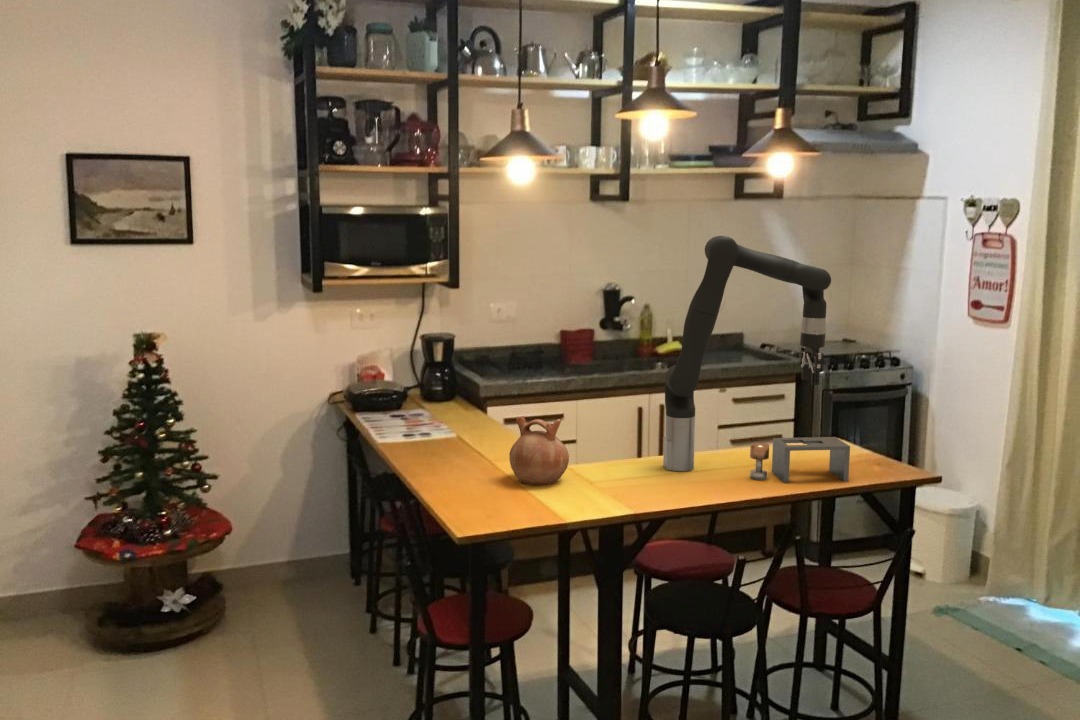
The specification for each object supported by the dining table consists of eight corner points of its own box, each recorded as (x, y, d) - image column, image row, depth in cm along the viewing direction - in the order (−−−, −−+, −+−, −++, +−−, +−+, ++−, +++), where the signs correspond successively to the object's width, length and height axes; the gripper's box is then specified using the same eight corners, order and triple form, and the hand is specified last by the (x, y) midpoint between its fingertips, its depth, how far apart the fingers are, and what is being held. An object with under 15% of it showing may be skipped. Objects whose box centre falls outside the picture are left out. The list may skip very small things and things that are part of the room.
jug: (579, 477, 298) (580, 414, 295) (550, 492, 282) (550, 426, 279) (528, 469, 307) (528, 408, 304) (497, 483, 292) (497, 419, 288)
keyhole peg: (752, 480, 294) (753, 447, 292) (747, 475, 300) (748, 442, 298) (770, 480, 295) (771, 446, 293) (764, 475, 300) (766, 442, 298)
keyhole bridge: (783, 482, 292) (785, 447, 290) (771, 472, 303) (773, 438, 302) (848, 481, 293) (850, 446, 291) (833, 470, 305) (835, 436, 303)
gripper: (793, 328, 309) (790, 378, 312) (809, 334, 295) (806, 386, 298) (816, 328, 310) (813, 378, 312) (833, 334, 296) (829, 386, 298)
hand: (809, 382), depth 305 cm, fingers open, 8 cm apart
